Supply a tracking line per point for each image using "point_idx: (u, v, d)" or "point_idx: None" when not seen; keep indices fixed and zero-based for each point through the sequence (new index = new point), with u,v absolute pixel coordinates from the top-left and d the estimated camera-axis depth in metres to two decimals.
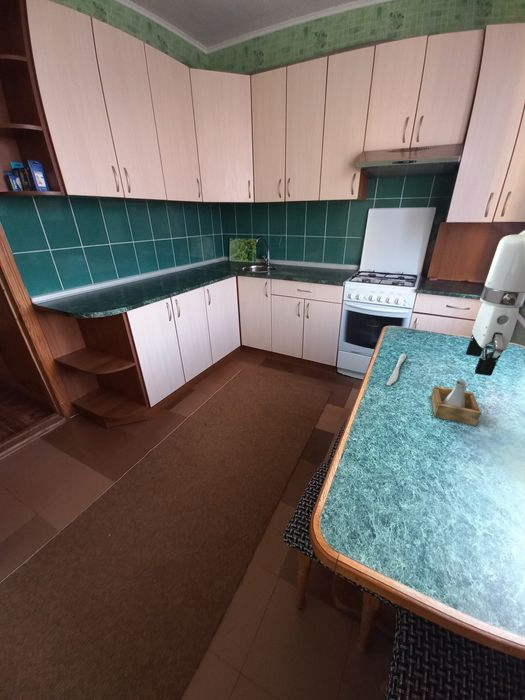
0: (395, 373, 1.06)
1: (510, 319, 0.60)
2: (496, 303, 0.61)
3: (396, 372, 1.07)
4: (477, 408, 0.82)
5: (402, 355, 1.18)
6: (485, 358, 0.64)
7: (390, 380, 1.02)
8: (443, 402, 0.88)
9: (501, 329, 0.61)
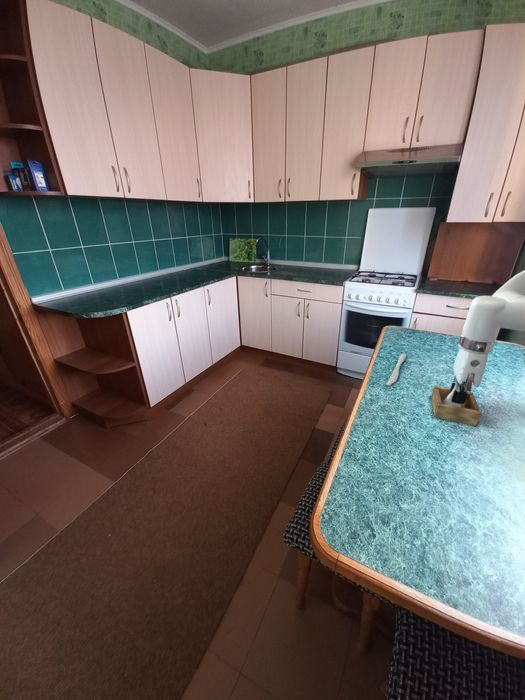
0: (395, 373, 1.06)
1: (481, 363, 0.75)
2: (470, 350, 0.76)
3: (396, 372, 1.07)
4: (477, 408, 0.82)
5: (402, 355, 1.18)
6: (458, 391, 0.81)
7: (390, 380, 1.02)
8: (443, 402, 0.88)
9: (474, 370, 0.76)
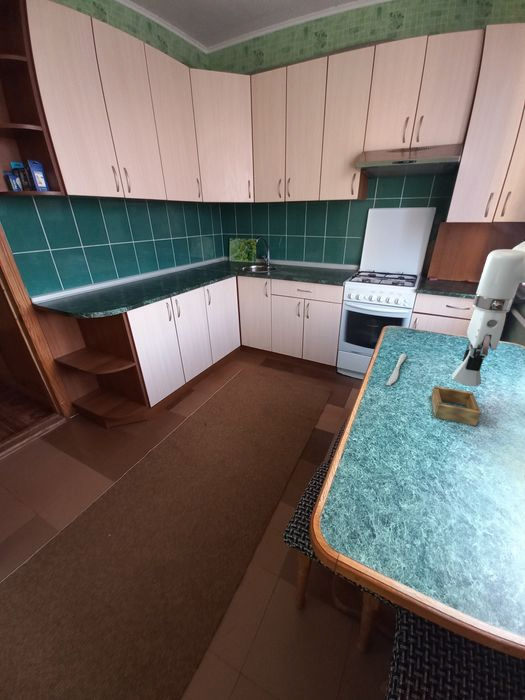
0: (395, 373, 1.06)
1: (498, 323, 0.69)
2: (486, 309, 0.70)
3: (396, 372, 1.07)
4: (477, 408, 0.82)
5: (402, 355, 1.18)
6: (473, 356, 0.76)
7: (390, 380, 1.02)
8: (456, 371, 0.82)
9: (491, 331, 0.70)
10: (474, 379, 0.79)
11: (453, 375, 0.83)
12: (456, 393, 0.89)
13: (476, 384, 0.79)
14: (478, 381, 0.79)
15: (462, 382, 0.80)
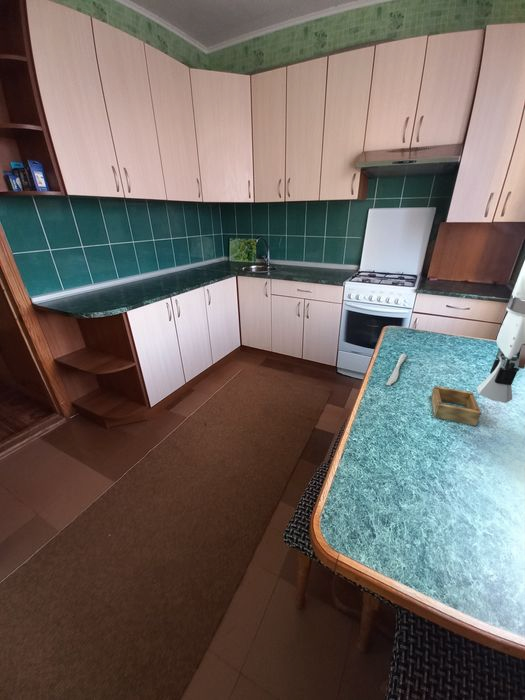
0: (395, 373, 1.06)
1: None
2: None
3: (396, 372, 1.07)
4: (477, 408, 0.82)
5: (402, 355, 1.18)
6: (506, 368, 0.65)
7: (390, 380, 1.02)
8: (483, 384, 0.72)
9: None
10: (505, 394, 0.68)
11: (479, 389, 0.72)
12: (456, 393, 0.89)
13: (507, 400, 0.68)
14: (509, 396, 0.69)
15: (490, 397, 0.69)
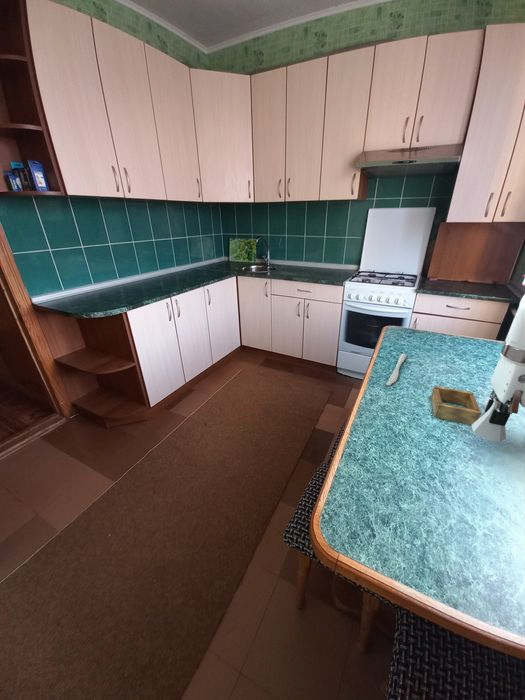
0: (395, 373, 1.06)
1: None
2: (517, 362, 0.61)
3: (396, 372, 1.07)
4: (477, 408, 0.82)
5: (402, 355, 1.18)
6: (499, 410, 0.67)
7: (390, 380, 1.02)
8: (477, 422, 0.73)
9: (522, 387, 0.61)
10: (498, 434, 0.70)
11: (473, 426, 0.74)
12: (456, 393, 0.89)
13: (500, 440, 0.70)
14: (502, 436, 0.70)
15: (484, 436, 0.71)
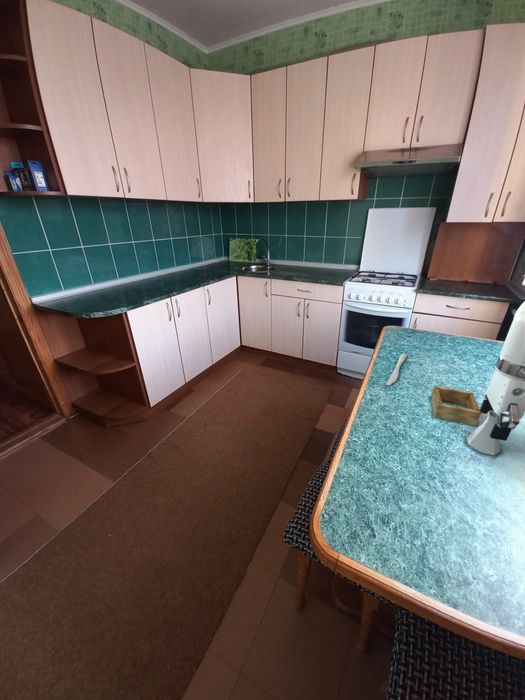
0: (395, 373, 1.06)
1: None
2: (511, 375, 0.63)
3: (396, 372, 1.07)
4: (477, 408, 0.82)
5: (402, 355, 1.18)
6: (500, 426, 0.66)
7: (390, 380, 1.02)
8: (472, 435, 0.75)
9: (516, 400, 0.63)
10: (492, 447, 0.72)
11: (468, 439, 0.76)
12: (456, 393, 0.89)
13: (494, 453, 0.72)
14: (496, 449, 0.72)
15: (479, 449, 0.73)
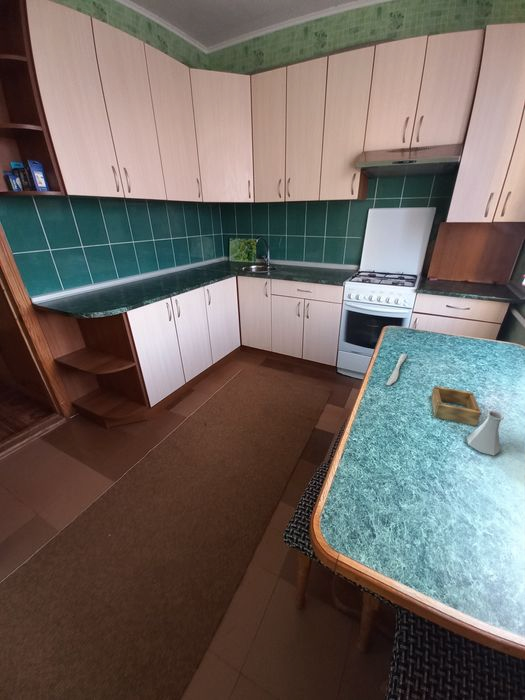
0: (395, 373, 1.06)
1: None
2: None
3: (396, 372, 1.07)
4: (477, 408, 0.82)
5: (402, 355, 1.18)
6: None
7: (390, 380, 1.02)
8: (472, 435, 0.75)
9: None
10: (492, 447, 0.72)
11: (468, 439, 0.76)
12: (456, 393, 0.89)
13: (494, 453, 0.72)
14: (496, 449, 0.72)
15: (479, 449, 0.73)
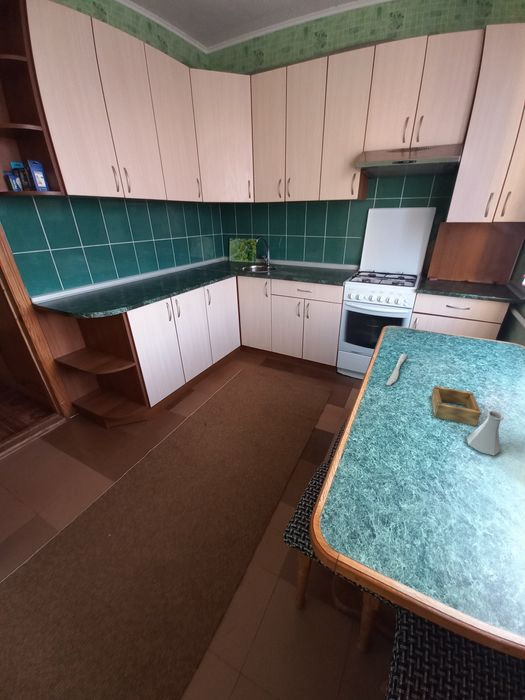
0: (395, 373, 1.06)
1: None
2: None
3: (396, 372, 1.07)
4: (477, 408, 0.82)
5: (402, 355, 1.18)
6: None
7: (390, 380, 1.02)
8: (472, 435, 0.75)
9: None
10: (492, 447, 0.72)
11: (468, 439, 0.76)
12: (456, 393, 0.89)
13: (494, 453, 0.72)
14: (496, 449, 0.72)
15: (479, 449, 0.73)
